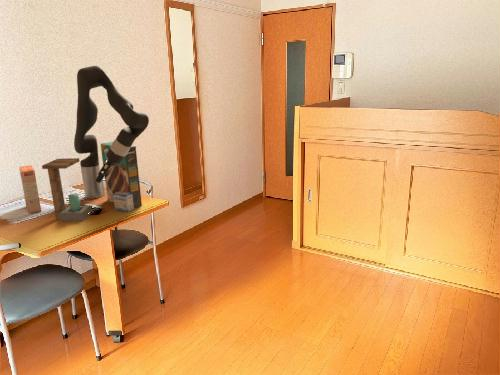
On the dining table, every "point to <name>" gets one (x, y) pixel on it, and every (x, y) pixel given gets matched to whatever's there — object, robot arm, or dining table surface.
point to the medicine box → (123, 201)
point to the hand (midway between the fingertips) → (101, 178)
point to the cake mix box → (123, 175)
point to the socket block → (75, 214)
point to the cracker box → (30, 189)
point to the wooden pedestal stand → (58, 181)
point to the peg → (74, 202)
